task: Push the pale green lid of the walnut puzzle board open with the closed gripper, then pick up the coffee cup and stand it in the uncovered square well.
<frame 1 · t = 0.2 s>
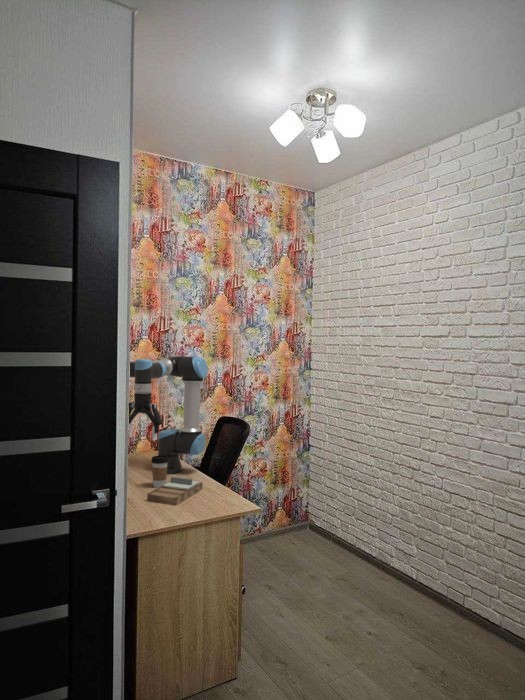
hand: (142, 438, 222), 28 cm above the table, fingers open, 13 cm apart
lid: (181, 481, 234), point 5 cm above the table, slide at 0.0 cm
coffee cup: (159, 486, 242), on the table
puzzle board: (176, 494, 229), on the table
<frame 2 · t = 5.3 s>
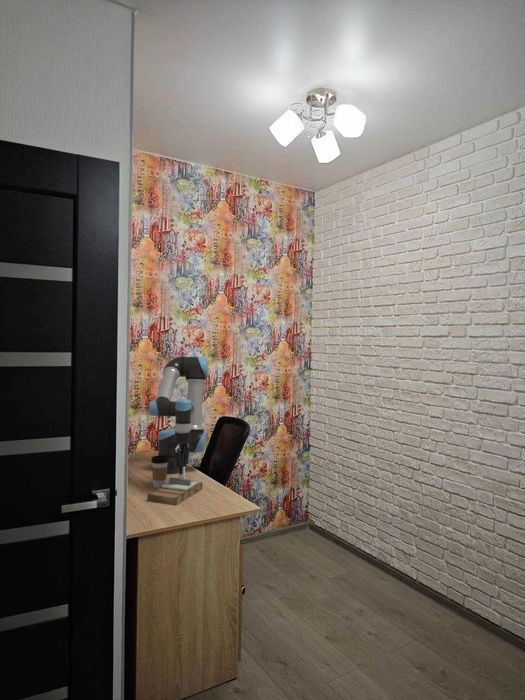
hand: (181, 480, 234), 6 cm above the table, fingers closed
lid: (179, 482, 233), point 5 cm above the table, slide at 1.4 cm, touching gripper
everything else where it was.
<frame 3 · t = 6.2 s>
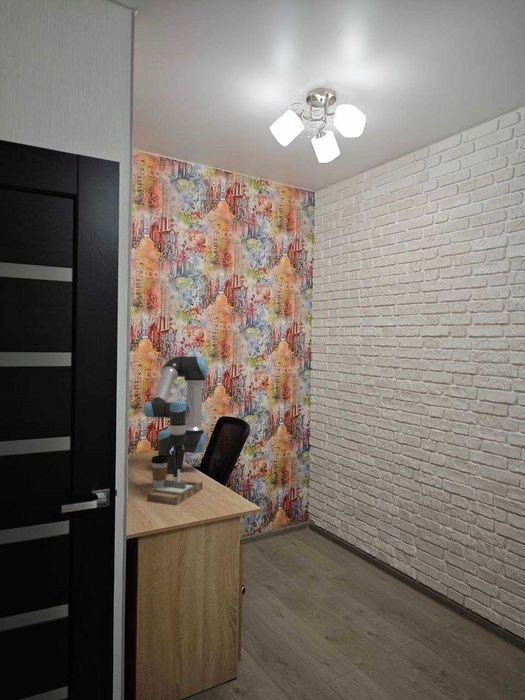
hand: (176, 483, 229), 6 cm above the table, fingers closed
lid: (174, 485, 228), point 5 cm above the table, slide at 6.7 cm, touching gripper
everything else where it was.
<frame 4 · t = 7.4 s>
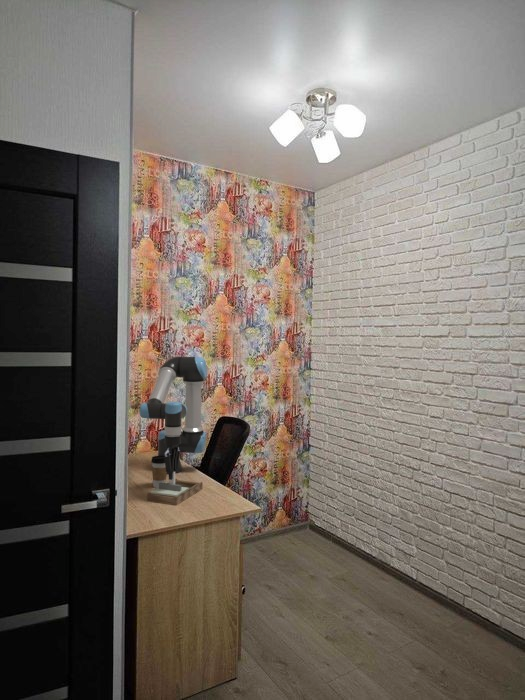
hand: (171, 485, 225), 5 cm above the table, fingers closed
lid: (170, 487, 224), point 5 cm above the table, slide at 10.9 cm, touching gripper
everything else where it was.
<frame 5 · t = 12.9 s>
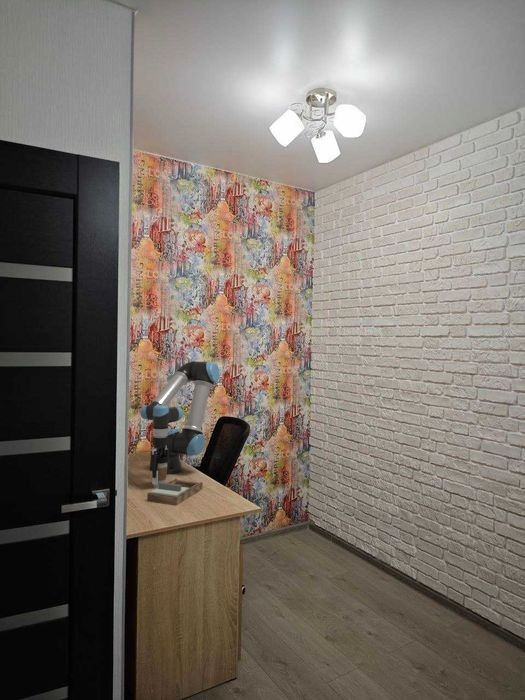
hand: (159, 481, 242), 2 cm above the table, fingers closed on coffee cup, 7 cm apart
lid: (169, 487, 223), point 5 cm above the table, slide at 11.0 cm
coffee cup: (159, 486, 242), on the table, touching gripper
when the fingers open (4 cm above the table, at t = 19.3 s): coffee cup drops 1 cm, resting on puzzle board.
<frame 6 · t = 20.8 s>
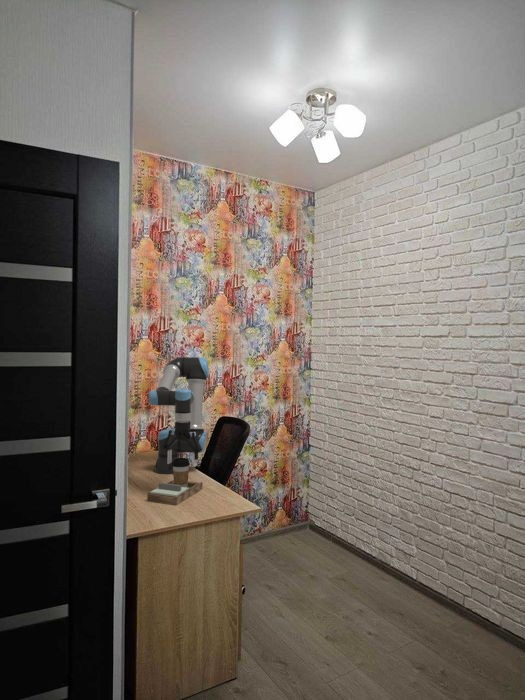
hand: (181, 464, 234), 13 cm above the table, fingers open, 13 cm apart
coffee cup: (180, 490, 234), resting on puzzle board
everything else where it was.
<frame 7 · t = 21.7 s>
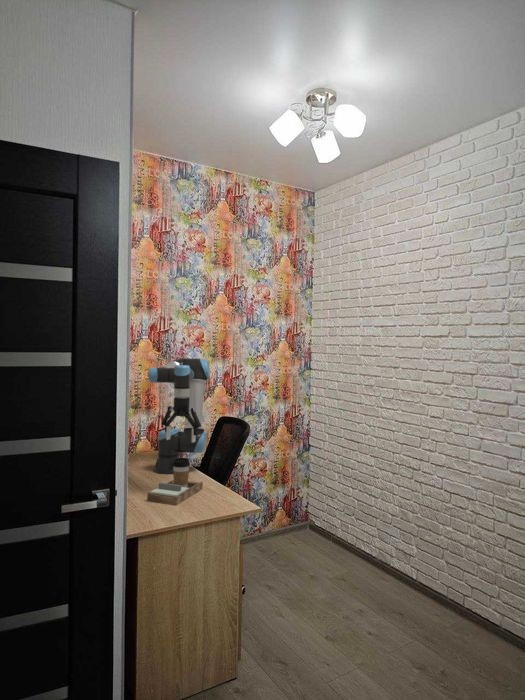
hand: (180, 440, 235), 25 cm above the table, fingers open, 13 cm apart
nothing on the table moved.
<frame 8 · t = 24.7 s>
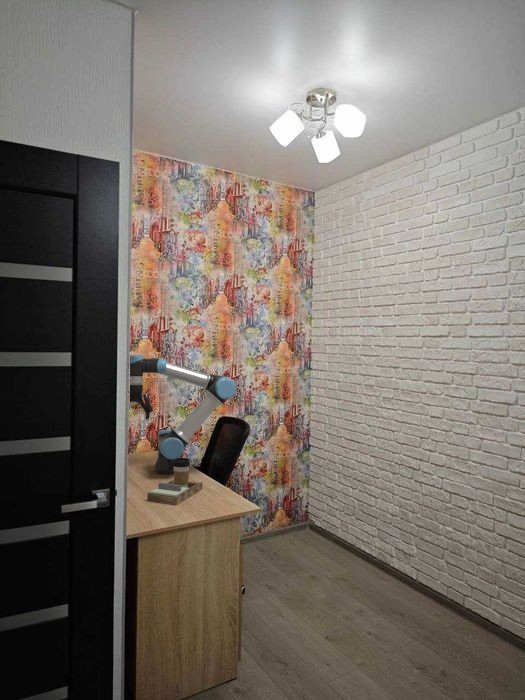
hand: (134, 424, 254), 29 cm above the table, fingers open, 13 cm apart
nothing on the table moved.
at the end: lid slide at 11.0 cm; coffee cup inside the target area on the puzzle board (0.1 cm from its centre), point 0.4 cm above the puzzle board's base; coffee cup tilted 0° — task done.
